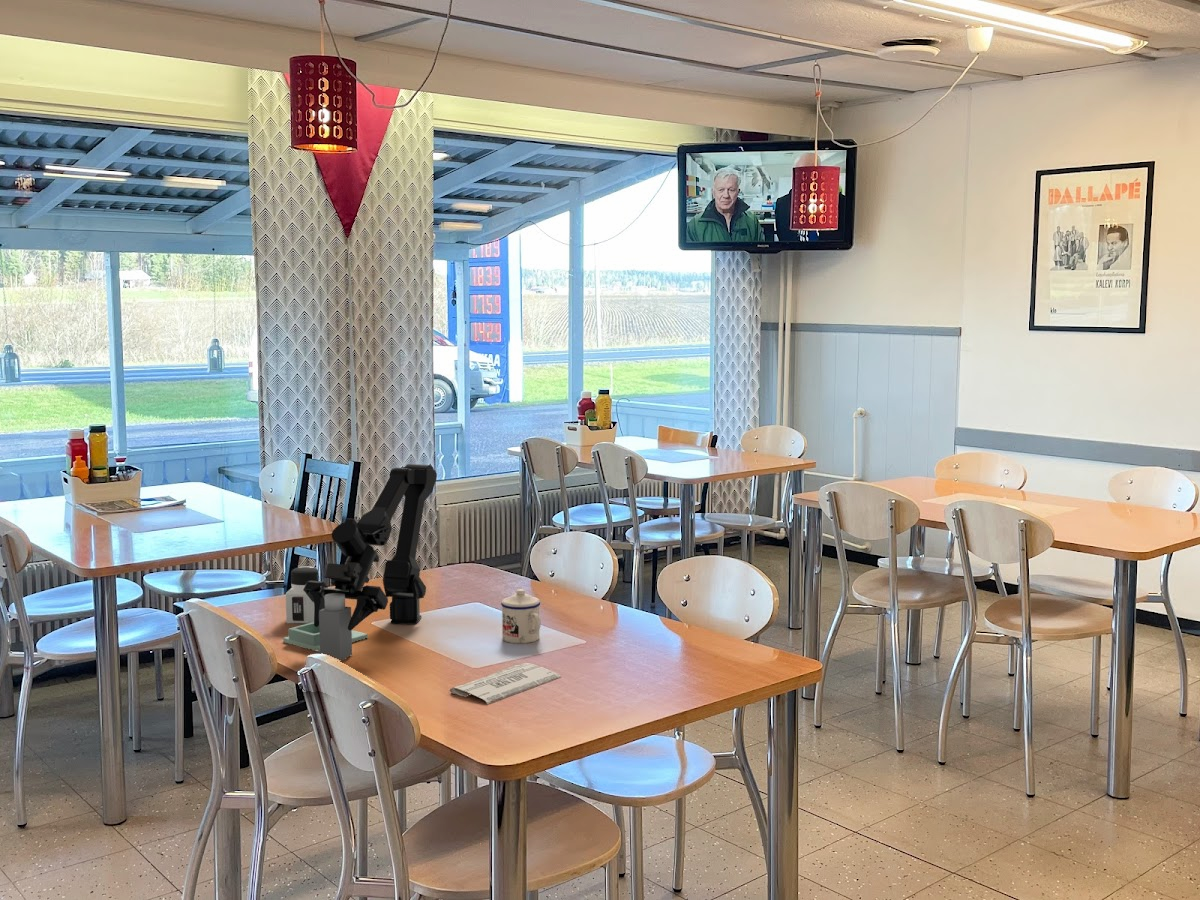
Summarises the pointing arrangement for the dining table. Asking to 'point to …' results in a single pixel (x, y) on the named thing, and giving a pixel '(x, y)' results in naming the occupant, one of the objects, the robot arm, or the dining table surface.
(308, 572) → the container
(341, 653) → the upright grey pillar
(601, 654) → the dining table surface
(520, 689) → the newspaper
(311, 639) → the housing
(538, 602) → the teacup with lid
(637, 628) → the dining table surface
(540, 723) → the dining table surface
